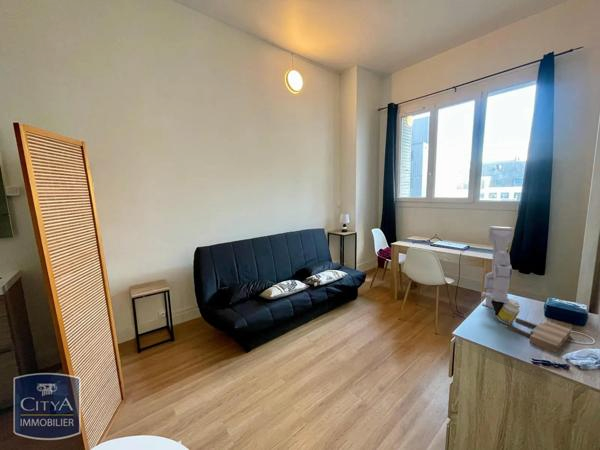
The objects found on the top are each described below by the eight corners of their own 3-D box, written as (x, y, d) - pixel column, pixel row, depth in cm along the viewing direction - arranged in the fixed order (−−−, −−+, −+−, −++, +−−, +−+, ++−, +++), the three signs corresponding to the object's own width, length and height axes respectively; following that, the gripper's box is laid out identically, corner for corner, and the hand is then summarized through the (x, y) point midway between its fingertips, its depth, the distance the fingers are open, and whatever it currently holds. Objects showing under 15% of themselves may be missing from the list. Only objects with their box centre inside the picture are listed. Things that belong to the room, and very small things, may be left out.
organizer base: (519, 318, 123) (520, 312, 123) (570, 335, 108) (571, 329, 108) (502, 331, 113) (503, 325, 112) (555, 352, 98) (556, 345, 98)
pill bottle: (506, 316, 123) (516, 299, 118) (514, 325, 117) (526, 308, 113) (493, 314, 123) (503, 297, 119) (501, 323, 118) (512, 306, 113)
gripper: (479, 286, 124) (476, 311, 126) (515, 296, 112) (512, 324, 114) (486, 283, 128) (483, 307, 130) (521, 293, 116) (518, 319, 118)
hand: (497, 315), depth 122 cm, fingers closed, pressing on pill bottle
